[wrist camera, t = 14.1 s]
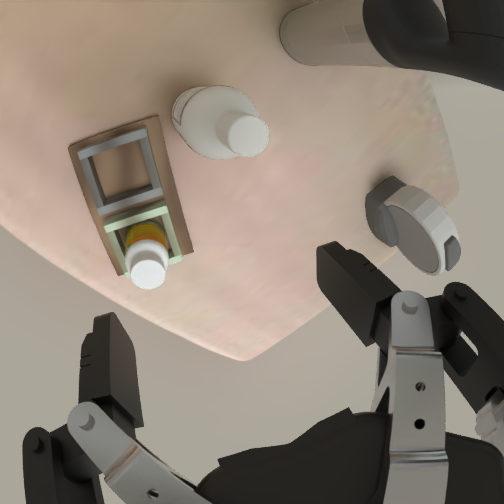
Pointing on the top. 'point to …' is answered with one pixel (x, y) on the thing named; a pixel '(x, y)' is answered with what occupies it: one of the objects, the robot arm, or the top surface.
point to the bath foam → (219, 122)
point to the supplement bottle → (146, 253)
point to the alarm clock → (413, 225)
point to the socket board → (130, 187)
